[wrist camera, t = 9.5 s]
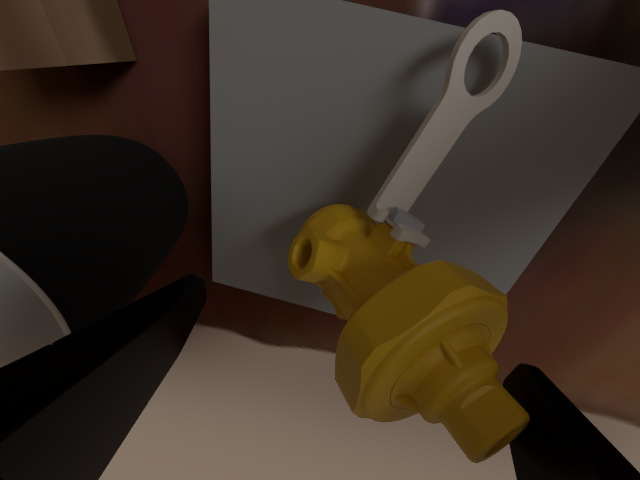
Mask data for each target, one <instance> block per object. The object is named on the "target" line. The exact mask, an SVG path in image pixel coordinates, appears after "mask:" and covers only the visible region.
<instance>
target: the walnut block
mask: <svg viewBox="0 0 640 480" xmlns="http://www.w3.org/2000/svg"><path fill="white" fill-rule="evenodd" d="M126 61H137V60H136V57H135V54H134V51H133V48H132V45H131V42H130V39H129V36H128V33H127V29H126V26H125V23H124V20H123V17H122V14H121V11H120V8H119V5H118V2H117V0H0V71H4V70H18V69H31V68H45V67H58V66H72V65H85V64H99V63H112V62H126Z"/></svg>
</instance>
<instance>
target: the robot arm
mask: <svg viewBox="0 0 640 480" xmlns="http://www.w3.org/2000/svg"><path fill="white" fill-rule="evenodd" d="M205 302H206V279H205V278H204V277H203V276H199V275H195V274H189V275H187V276H185V277H183V278H181V279H179V280H177V281H175V282H173V283H171V284H169V285H167V286H165V287H163V288H161V289H159V290H157V291H155V292H153V293H151V294H149V295H147V296H145V297H143V298H141V299H139V300H137V301H135V302H133V303H131V304H129V305H127V306H125V307H122V308H120V309H118V310H116V311H114V312H112V313H110V314H108V315H106V316H104V317H102V318H100V319H98V320H96V321H94V322H92V323H90V324H88V325H86V326H84V327H82V328H80V329H78V330H76V331H74V332H72V333H70V334H68V335H66V336H64V337H62V338H60V339H58V340H56V341H54V342H53V343H52V345H51V344H48V345H46V346H44V347H42V348H40V349H38V350H36V351H34V352H32V353H30V354H28V355H26V356H24V357H21V358H19V359H17V360H15V361H13V362H11V363H9V364H7V365H5V366H3V367H0V480H98V479H99V478H100V476H101V475H102V473H103V471H104V470H105V468H106V467H107V465H108V464H109V462H110V461H111V459H112V458H113V456H114V454H115V453H116V451H117V450H118V448H119V447H120V445H121V444H122V442H123V441H124V439H125V438H126V436H127V435H128V433H129V431H130V430H131V428H132V427H133V425H134V424H135V422H136V420H137V419H138V418H139V416H140V414H141V413H142V411H143V410H144V408H145V407H146V405H147V404H148V402H149V400H150V399H151V397H152V396H153V394H154V393H155V391H156V390H157V388H158V387H159V385H160V383H161V382H162V380H163V379H164V377H165V376H166V374H167V373H168V371H169V370H170V368H171V366H172V365H173V363H174V362H175V360H176V359H177V357H178V355H179V354H180V352H181V350H182V348H183V346H184V345H185V343H186V341H187V338H188V337H189V334H190V333H191V331H192V329H193V327H194V325H195V323H196V321H197V319H198V317H199V315H200V313H201V311H202V309H203V307H204V305H205ZM503 388H504V389H505V390H506V391H507V392H508V393H509V394H510V395H511V396H512V397H513V398H514V399H515V400H516V401H517V402H518V403H519V404H520V405H521V406H522V407H523V408H524V409H525V410H526V411H527V413H528V414H529V417H530V421H529V423H528V425H527V426H526V428H525V429H524V430H523V431H522V432H521V433H520V434H519V435H518V436H517V437H516V438H515V439H514V440H512V441H511V442H510V443H509V444H510V449H511V454H512V459H513V463H514V468H515V472H516V478H517V480H640V473H639V472H638V471H637V470H636V469H635V468H634V467H633V466H632V465H631V463H630V462H629V461H628V460H627V459H626V458H625V457H624V456H623V455H622V454H621V453H620V452H619V451H618V450H617V449H616V448H615V447H614V446H613V445H612V444H611V443H610V442H609V441H608V440H607V439H606V437H604V435H603V434H602V433H601V432H600V431H599V430H598V429H597V428H596V427H595V426H594V425H593V424H592V423H591V422H590V421H589V420H588V419H587V418H586V417H585V416H584V415H583V414H582V413H581V412H580V410H579V409H578V408H577V407H576V406H575V405H574V404H573V403H572V402H571V401H570V400H569V399H568V398H567V397H566V396H565V395H564V394H563V393H562V392H561V391H560V390H559V389H558V388H557V387H556V386H555V385H554V383H553V382H552V381H551V380H550V379H549V378H548V377H547V376H546V375H545V374H544V373H543V372H542V371H541V370H540V369H539V368H537V367H535V366H532V365H528V364H524V363H521V364H518V365H517V366H516V367H515V368H514V369H513V370H512V371H511V373H510V374H509V375H508V376H507V377H506V378H505V380H504V382H503Z"/></svg>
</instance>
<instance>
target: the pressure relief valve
mask: <svg viewBox="0 0 640 480" xmlns="http://www.w3.org/2000/svg"><path fill="white" fill-rule="evenodd" d="M492 32H495V33H496V34H497V35H498V36H500V38H501V41H502V44H503V58H502V62H501V66H500V68H499V71H498V73H497V75H496V77H495V79H494V80H493V81H492V83H491V84H490V85H489V86H488V88H486V89H485V90H484V91H483V92H481V93H480V94H477V95H474V96H471V95H470V94H469V93H468V92H467V91H466V88H465V84H464V71H465V67H466V64H467V61H468V58H469V56H470V54H471V52H472V51H473V49H474V47H475V46H476V45H477V43H478V42H479V41H480V40H481V39H482V38H483V37H484V36H486V35H488V34H490V33H492ZM521 47H522V33H521V27H520V25H519V22H518V19H517V18H516V17H515V16H514V15H513V14H512V13H511V12H508V11H504V10H494V11H489V12H485V13H484V14H482V15H480V16H479V17H477V18H476V19H474V20H473V21H472V22H471V23H470V25H469V26H468V27H467V28H466V29H465V30H464V31H463V33H462V34H461V36H460V37H459V39H458V41H457V42H456V44H455V46H454V48H453V51H452V53H451V56H450V58H449V62H448V66H447V71H446V76H445V81H444V85H443V88H442V91H441V93H440V95H439V97H438V99H437V101H436V102H435V104H434V106H433V107H432V109H431V110H430V112H429V113H428V115H427V117H426V118H425V120H424V121H423V123H422V124H421V126H420V128H419V129H418V131H417V132H416V134H415V135H414V137H413V139H412V140H411V142H410V143H409V145H408V146H407V148H406V150H405V151H404V153H403V154H402V156H401V157H400V159H399V161H398V162H397V164H396V165H395V167H394V168H393V170H392V172H391V173H390V175H389V176H388V178H387V179H386V181H385V183H384V184H383V186H382V187H381V189H380V190H379V192H378V194H377V195H376V197H375V198H374V200H373V201H372V203H371V205H370V206H369V208H368V211H367V213H368V214H367V213H366V212H364V211H361V210H359V209H357V208H355V207H352V206H350V205H344V204H334V205H329V206H326V207H324V208H322V209H320V210H318V211H317V212H315V213H314V214H313V215H311V216H310V217H309V218H308V220H307V221H306V222H305V223H304V225H303V226H302V228H301V230H300V232H299V234H298V235H297V236H296V237H295V238H294V240H293V242H292V244H291V247H290V250H289V256H288V267H289V270H290V272H291V273H292V275H293V276H294V278H295V279H297V280H301V281H306V282H311V283H315V284H316V285H317V286H319V287H321V288H323V295H324V296H325V297H326V298H327V299H328V300H329V301H330V302H331V303H332V304H333V306H334V308H335V310H336V315H337V317H338V318H339V319H345V320H348V321H347V323H346V324H345V326H344V328H343V330H342V332H341V335H340V337H339V340H338V344H337V349H336V360H335V362H336V363H335V380H336V382H337V383H338V386H339V388H340V389H341V391H342V393H343V395H344V397H345V399H346V401H347V403H348V405H349V407H350V409H351V411H352V412H353V413H354V414H355V415H357V416H358V417H360V418H370V419H373V420H375V421H378V422H392V421H397V420H401V419H404V418H407V417H410V416H412V415H415V414H417V413H420V414H421V416H422V417H423V418H424V419H425V420H426V421H427V422H429V423H440V422H441V423H442V424H443V425H444V426H445V427H446V429H447V430H448V431H449V433H450V434H451V436H452V437H453V438H454V440H455V441H456V443H457V444H458V445H459V447H460V448H461V449H462V450H463V452H464V453H465V455H466V456H467V458H468V459H469V460H471V461H472V462H475V463H478V462H481V461H484V460H486V459H488V458H489V457H491V456H492V455H494V454H496V453H497V452H498V451H500V450H501V449H502V448H504V447H505V446H506V445H508V444H509V443H510V442H511V441H512V440H514V439H515V438H516V437H517V436H518V435H519V434H520V433H521V432H522V431H523V430H524V429H525V428H526V426H527V425H528V423H529V421H530V417H529V414H528V413H527V411H526V410H525V409H524V408H523V407H522V406H521V405H520V404H519V403H518V402H517V401H516V400H515V399H514V398H513V397H512V396H511V395H510V394H509V393H508V392H507V391H506V390H505V389H504V388H503V386H502V385H501V384H500V383H499V382H498V381H497V380H496V377H497V375H498V364H497V363H496V361H495V360H494V359H493V356H492V352H493V351H494V350H495V348H496V347H497V345H498V343H499V342H500V340H501V338H502V336H503V334H504V332H505V329H506V325H507V320H508V313H507V305H508V300H507V296H506V295H505V294H503V293H502V292H501V291H500V290H498V289H497V288H496V287H494V286H493V285H492V284H490V283H489V282H488V281H487V280H485V279H484V278H483V277H481V276H480V275H479V274H477V273H475V272H473V271H471V270H469V269H467V268H464V267H462V266H459V265H457V264H454V263H451V262H447V261H443V260H438V261H434V262H430V263H427V264H423V265H420V264H418V263H416V262H414V260H413V258H412V254H411V252H412V250H413V248H414V247H415V245H416V244H417V245H419V246H420V247H421V248H422V249H425V248H426V246H427V245H428V244H429V242H430V241H431V240H430V239H429V238H428V237H427V236H425V235H424V234H423V233H422V232H421V231H422V230H423V229H424V227H425V226H424V224H423V223H422V222H421V221H420V220H419V219H417V218H416V217H414V216H413V215H411V214H410V213H408V210H409V209H410V207H411V206H412V204H413V203H414V202H415V200H416V199H417V197H418V196H419V194H420V193H421V191H422V190H423V188H424V187H425V186H426V184H427V183H428V181H429V180H430V178H431V177H432V175H433V174H434V172H435V171H436V169H437V168H438V167H439V165H440V164H441V162H442V161H443V159H444V158H445V156H446V155H447V153H448V152H449V150H450V149H451V148H452V146H453V145H454V143H455V142H456V140H457V139H458V137H459V136H460V134H461V133H462V132H463V130H464V129H465V127H466V126H467V124H468V123H469V122H470V121H471V119H473V118H474V117H475V116H476V115H477V114H478V113H480V112H481V111H483V110H484V109H486V108H487V107H489V106H490V105H492V104H493V103H494V102H495V101H496V100H497V99H498V98H499V97H500V96H501V94H502V93H503V92H504V90H505V89H506V87H507V86H508V84H509V83H510V81H511V79H512V77H513V75H514V73H515V71H516V67H517V64H518V61H519V58H520V53H521ZM375 220H376V221H379V222H380V223H379V224H378V225H377V223H376V222H375Z"/></svg>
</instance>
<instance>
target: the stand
mask: <svg viewBox="0 0 640 480" xmlns="http://www.w3.org/2000/svg"><path fill="white" fill-rule="evenodd" d="M465 29H466V28H463V27H459V26H454V25H450V24H445V23H441V22H436V21H432V20H427V19H423V18H418V17H414V16H410V15H405V14H401V13H396V12H392V11H387V10H383V9H378V8H374V7H369V6H365V5H361V4H356V3H352V2H347V1H343V0H209V48H210V126H211V204H212V281H213V282H217V283H221V284H224V285H228V286H232V287H235V288H239V289H243V290H246V291H250V292H254V293H257V294H261V295H265V296H268V297H272V298H276V299H279V300H283V301H287V302H290V303H294V304H298V305H301V306H305V307H309V308H312V309H316V310H320V311H323V312H327V313H331V314H334V315H336V310H335V308H334V306H333V304H332V303H331V302H330V301H329V300H328V299H327V298H326V297H325V296H324V295H323V288H321V287H319V286H317V285H316V284H315V283H311V282H306V281H301V280H297V279H295V278H294V276H293V275H292V273H291V272H290V270H289V267H288V256H289V250H290V247H291V244H292V242H293V240H294V238H295V237H296V236H297V235H298V234H299V232H300V230H301V228H302V226H303V225H304V223H305V222H306V221H307V220H308V218H309V217H310V216H311V215H313V214H314V213H315V212H317V211H318V210H320V209H322V208H324V207H326V206H329V205H334V204H344V205H350V206H352V207H355V208H357V209H359V210H361V211H364V212H366V213H367V211H368V208H369V206H370V205H371V203H372V201H373V200H374V198H375V197H376V195H377V194H378V192H379V190H380V189H381V187H382V186H383V184H384V183H385V181H386V179H387V178H388V176H389V175H390V173H391V172H392V170H393V168H394V167H395V165H396V164H397V162H398V161H399V159H400V157H401V156H402V154H403V153H404V151H405V150H406V148H407V146H408V145H409V143H410V142H411V140H412V139H413V137H414V135H415V134H416V132H417V131H418V129H419V128H420V126H421V124H422V123H423V121H424V120H425V118H426V117H427V115H428V113H429V112H430V110H431V109H432V107H433V106H434V104H435V102H436V101H437V99H438V97H439V95H440V93H441V91H442V88H443V85H444V81H445V76H446V71H447V66H448V62H449V58H450V56H451V53H452V51H453V48H454V46H455V44H456V42H457V41H458V39H459V37H460V36H461V34H462V33H463V31H464V30H465ZM502 58H503V44H502V41H501V38H500V36H498V35H494V34H488V35H486V36H484V37H483V38H482V39H481V40H480V41H479V42H478V43H477V45H476V46H475V47H474V49H473V51H472V52H471V54H470V56H469V58H468V61H467V64H466V67H465V71H464V84H465V88H466V91H467V92H468V93H469V94H470V95H471V96H474V95H477V94H480V93H481V92H483V91H484V90H485V89H486V88H488V86H489V85H490V84H491V83H492V81H493V80H494V79H495V77H496V75H497V73H498V71H499V68H500V66H501V62H502ZM639 113H640V67H637V66H632V65H628V64H623V63H619V62H615V61H610V60H606V59H601V58H597V57H592V56H588V55H583V54H579V53H574V52H570V51H566V50H561V49H557V48H552V47H548V46H543V45H539V44H534V43H530V42H525V41H522V47H521V53H520V58H519V61H518V64H517V67H516V71H515V73H514V75H513V77H512V79H511V81H510V83H509V84H508V86H507V87H506V89H505V90H504V92H503V93H502V94H501V96H500V97H499V98H498V99H497V100H496V101H495V102H494V103H493V104H492V105H490V106H489V107H487V108H486V109H484V110H483V111H481V112H480V113H478V114H477V115H476V116H475V117H474V118H473V119H471V121H470V122H469V123H468V124H467V126H466V127H465V129H464V130H463V132H462V133H461V134H460V136H459V137H458V139H457V140H456V142H455V143H454V145H453V146H452V148H451V149H450V150H449V152H448V153H447V155H446V156H445V158H444V159H443V161H442V162H441V164H440V165H439V167H438V168H437V169H436V171H435V172H434V174H433V175H432V177H431V178H430V180H429V181H428V183H427V184H426V186H425V187H424V188H423V190H422V191H421V193H420V194H419V196H418V197H417V199H416V200H415V202H414V203H413V204H412V206H411V207H410V209H409V210H408V213H410V214H411V215H413V216H414V217H416V218H417V219H419V220H420V221H421V222H422V223H423V224H424V226H425V227H424V229H423V230H422V231H421V232H422V233H423V234H424V235H425V236H427V237H428V238H429V239H430V240H431V241H430V242H429V244H428V245H427V246H426V248H425V249H422V248H421V247H420V246H419V245H417V244H416V245H415V247H414V248H413V250H412V252H411V254H412V258H413V260H414V262H416V263H418V264H420V265H423V264H427V263H430V262H434V261H438V260H443V261H447V262H451V263H454V264H457V265H459V266H462V267H464V268H467V269H469V270H471V271H473V272H475V273H477V274H479V275H480V276H481V277H483V278H484V279H485V280H487V281H488V282H489V283H490V284H492V285H493V286H494V287H496V288H497V289H498V290H500V291H501V292H502V293H503V294H505V295H506V294H507V292H508V291H509V290H510V288H511V287H512V286H513V284H514V283H515V282H516V280H517V279H518V277H519V276H520V275H521V273H522V272H523V271H524V269H525V268H526V267H527V265H528V264H529V263H530V261H531V260H532V258H533V257H534V256H535V254H536V253H537V252H538V250H539V249H540V248H541V246H542V245H543V243H544V242H545V241H546V239H547V238H548V237H549V235H550V234H551V233H552V231H553V230H554V229H555V227H556V226H557V224H558V223H559V222H560V220H561V219H562V218H563V216H564V215H565V214H566V212H567V211H568V210H569V208H570V207H571V205H572V204H573V203H574V201H575V200H576V199H577V197H578V196H579V195H580V193H581V192H582V191H583V189H584V188H585V186H586V185H587V184H588V182H589V181H590V180H591V178H592V177H593V176H594V174H595V173H596V172H597V170H598V169H599V167H600V166H601V165H602V163H603V162H604V161H605V159H606V158H607V157H608V155H609V154H610V152H611V151H612V150H613V148H614V147H615V146H616V144H617V143H618V142H619V140H620V139H621V138H622V136H623V135H624V133H625V132H626V131H627V129H628V128H629V127H630V125H631V124H632V123H633V121H634V120H635V119H636V117H637V116H638V114H639ZM367 214H368V213H367ZM375 222H376V223H377V225H378V224H379V223H380V222H379V221H376V220H375Z"/></svg>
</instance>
